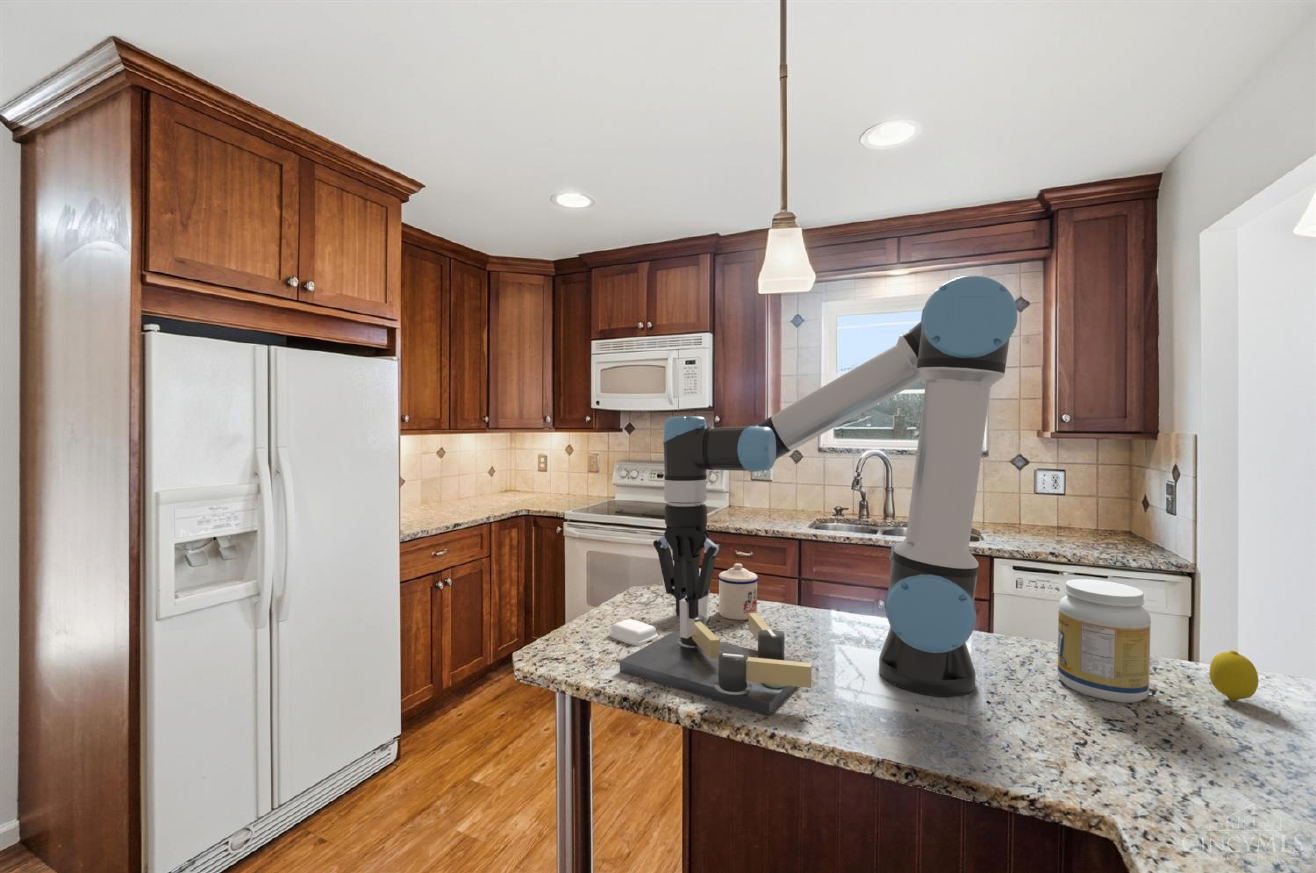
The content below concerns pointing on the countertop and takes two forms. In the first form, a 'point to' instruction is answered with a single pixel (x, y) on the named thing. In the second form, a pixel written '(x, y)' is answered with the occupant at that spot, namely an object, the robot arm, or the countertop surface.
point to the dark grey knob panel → (700, 673)
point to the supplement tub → (1104, 640)
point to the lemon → (1233, 675)
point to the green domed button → (774, 685)
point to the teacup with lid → (737, 593)
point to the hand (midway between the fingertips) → (687, 635)
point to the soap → (633, 632)
